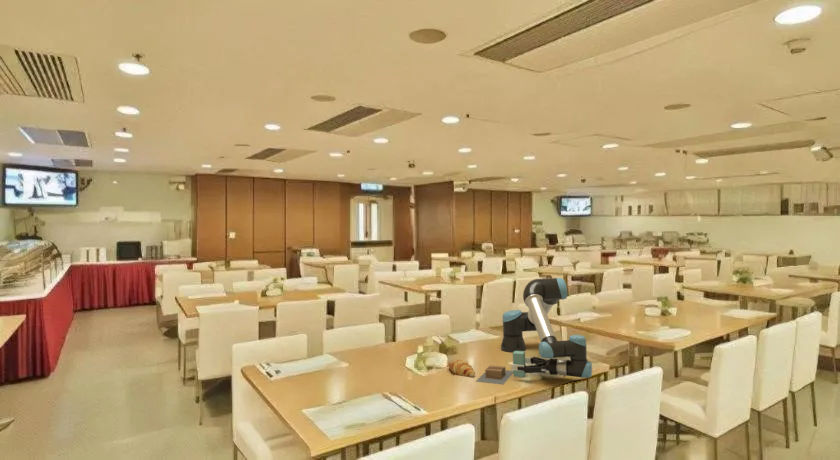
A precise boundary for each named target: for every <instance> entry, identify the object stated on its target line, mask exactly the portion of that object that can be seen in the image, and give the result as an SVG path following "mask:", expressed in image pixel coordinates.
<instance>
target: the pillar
mask: <svg viewBox="0 0 840 460" xmlns="http://www.w3.org/2000/svg"><path fill="white" fill-rule="evenodd" d="M525 357H526V350H525V351H514V352H512V364H515V365H526V363H525ZM512 371H513V377H514V378H515V377H516V378H517V377H518V378H524V377H526V374H527V373H525V372H524V371H516V370H512Z"/></svg>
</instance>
